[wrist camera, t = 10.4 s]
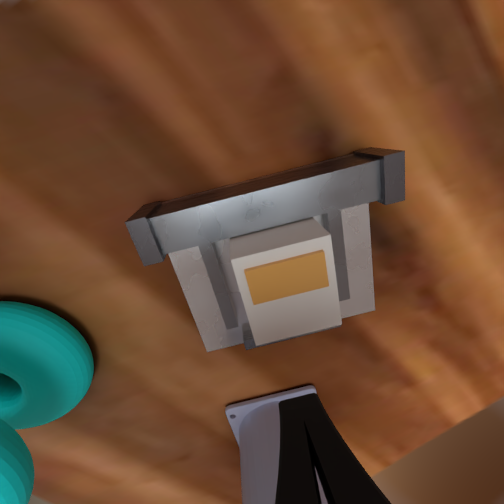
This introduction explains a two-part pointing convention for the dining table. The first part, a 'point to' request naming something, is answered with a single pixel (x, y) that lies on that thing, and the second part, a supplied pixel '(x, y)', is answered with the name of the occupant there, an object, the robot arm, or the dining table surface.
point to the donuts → (35, 385)
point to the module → (287, 280)
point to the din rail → (262, 217)
